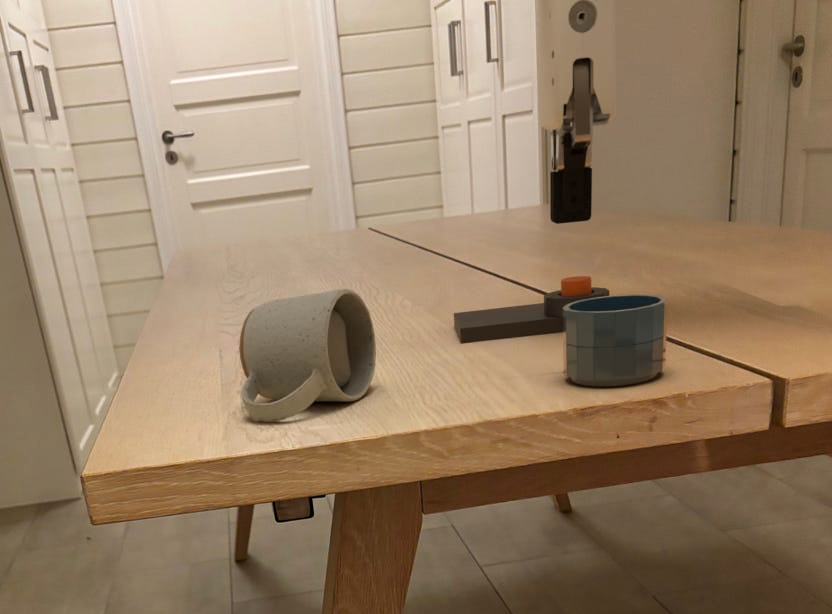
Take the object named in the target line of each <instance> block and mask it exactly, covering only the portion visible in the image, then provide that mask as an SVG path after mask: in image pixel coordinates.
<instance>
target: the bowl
mask: <svg viewBox="0 0 832 614" xmlns="http://www.w3.org/2000/svg"><path fill="white" fill-rule="evenodd" d="M667 323H668V298H666V297H665V296H662V295H656V294H639V293H638V294H635V293H634V294H616V295H609V296H605V297H596V298H590V299H585V300H579V301H576V302H572V303H569V304H567V305H566V306H564V307H563V332H562V340H563V341H562V345H563V346H562V349H563V351H562V354H563V355H562V356H563V359H562V360H563V373H564V376H566V377H567V378H570V380H571V382H572V383H574V384H576V385H579V386H586V387H598V388H609V387H611V388H612V387H623V386H631V385H636V384H637V385H638V384H641V383H644V382H648V381H650V380H654V379H655V378H657V376H658V373H660V372H662V371H663V370H664V369H665V367H666V356H667V355H666V353H667V325H668V324H667Z"/></svg>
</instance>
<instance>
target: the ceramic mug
mask: <svg viewBox="0 0 832 614" xmlns="http://www.w3.org/2000/svg"><path fill="white" fill-rule="evenodd" d="M375 334H376V333H375V330H374V324H373V321H372V317H371V314H370V311H369V308H368V307H367V304H366V303H365V301H364V299H363V298H362V296H360V295H359V293H357V292H356V291H354V290H352V289H349V288H338V289H334V290H329V291H322V292H317V293H311V294H304V295H299V296H293V297H292V296H291V297H285V298H278V299H272V300H270V301H267V302H264V303H261V304H260V305H258V306H256V307H254V308H253V309H251V311H250V312H248V314H247V315H246V317H245V319H244V321H243V323H242V327H241V330H240V335H239V346H238V347H239V350H238V351H239V360H240V364H241V367H242V370H243V374H244V376H245V377H246V380H245V381H244V383H243V385H242V387H241V391H240V396H241V400H242V404H243V406H244V407H245V409H246V411H247V413H248V414H249V416H250V417H252V418H253V419H254V420H256V421H260V422H264V423H276V422H280V421H284V420H287V419H290V418H292V417H294V416H296V415H298V414H300V413H302V412H303V411H305V410H307V408H309V407H310V406H311V405H312V404H313V403H314V402H341V403H342V402H343V403H345V402H347V403H348V402H356V401H357V400H359V399H361V398H362V397H363V396H364V395H365V394H367V392H368V390H369V388H370V386H371V383H372V381H373V378H374V375H375V369H376V359H377V358H376V357H377V348H376V347H377V345H376V344H377V343H376V335H375ZM258 395H259V396H261V397H263V398H266V399H269V400H273V401H272V402H271V401H270V402H262V403H260V402H259V403H257V402H255V400H256V398H257V396H258Z"/></svg>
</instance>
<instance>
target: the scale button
mask: <svg viewBox="0 0 832 614" xmlns="http://www.w3.org/2000/svg"><path fill="white" fill-rule="evenodd" d="M591 287H592V276H589V275H579V276H571V277H564V278H562V279H561V280H560V290H561V296H576V295H585V294H590V293H591Z"/></svg>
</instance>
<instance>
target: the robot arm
mask: <svg viewBox="0 0 832 614" xmlns="http://www.w3.org/2000/svg"><path fill="white" fill-rule="evenodd" d="M536 10H537V18H536V19H537V21H536V27H537V28H536V29H537V30H536V31H537V32H536V34H537V35H536V57H537V58H536V68H537V70H536V71H537V72H536V74H537V77H536V78H537V99H538V100H537V103H538V104H537V105H538V106H537V107H538V108H537V109H538V120H539V121H538V122H539V125H540V127H542V129H544V130H546V131H550V153H551V154H550V156H551V157H550V158H551V160H550V161H551V171H550V173H549V175H550V176H549V179H550V180H549V181H550V182H549V184H550V186H549V187H550V188H549V190H550V191H549V196H550V203H549V204H550V207H549V209H550V211H549V212H550V213H549V214H550V221H551V222H552V223H554V224H557V225H560V224H569V223H578V222H579V223H580V222H588V221H589V220H591V218H592V203H593V202H592V197H593V196H592V195H593V168H592V157H593V131H594V126H603V125H609V124H610V123H612V122H613V120H614V119H615V118H616V116H617V57H616V56H617V51H616V50H617V48H616V47H617V44H616V43H617V42H616V41H617V37H616V12H615V11H616V8H615V0H537V9H536Z"/></svg>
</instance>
